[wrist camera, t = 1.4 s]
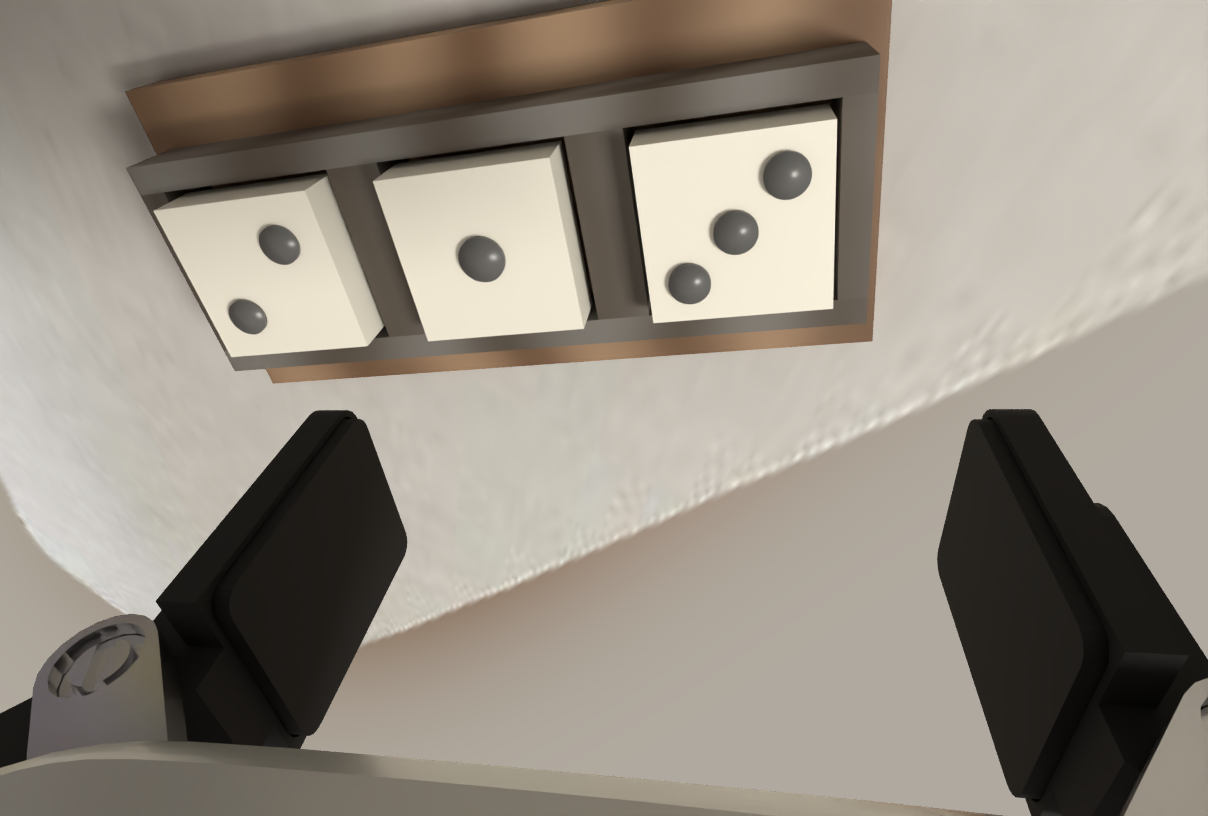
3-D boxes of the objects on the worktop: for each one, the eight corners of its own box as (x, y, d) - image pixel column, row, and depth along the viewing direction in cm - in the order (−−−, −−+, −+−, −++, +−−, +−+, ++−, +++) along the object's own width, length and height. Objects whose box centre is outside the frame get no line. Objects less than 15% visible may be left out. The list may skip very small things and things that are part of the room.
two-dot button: (331, 172, 25) (301, 192, 23) (387, 321, 28) (365, 348, 26) (188, 192, 26) (149, 212, 24) (258, 332, 29) (228, 359, 28)
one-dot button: (561, 140, 23) (547, 159, 21) (592, 303, 26) (583, 331, 25) (395, 163, 24) (370, 183, 23) (445, 316, 28) (426, 343, 26)
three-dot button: (828, 103, 21) (838, 120, 20) (825, 283, 25) (833, 311, 23) (635, 130, 23) (628, 148, 21) (657, 297, 26) (653, 326, 24)
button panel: (881, -49, 22) (913, -42, 18) (864, 317, 29) (883, 375, 26) (160, 81, 28) (74, 106, 24) (294, 361, 35) (243, 413, 31)
